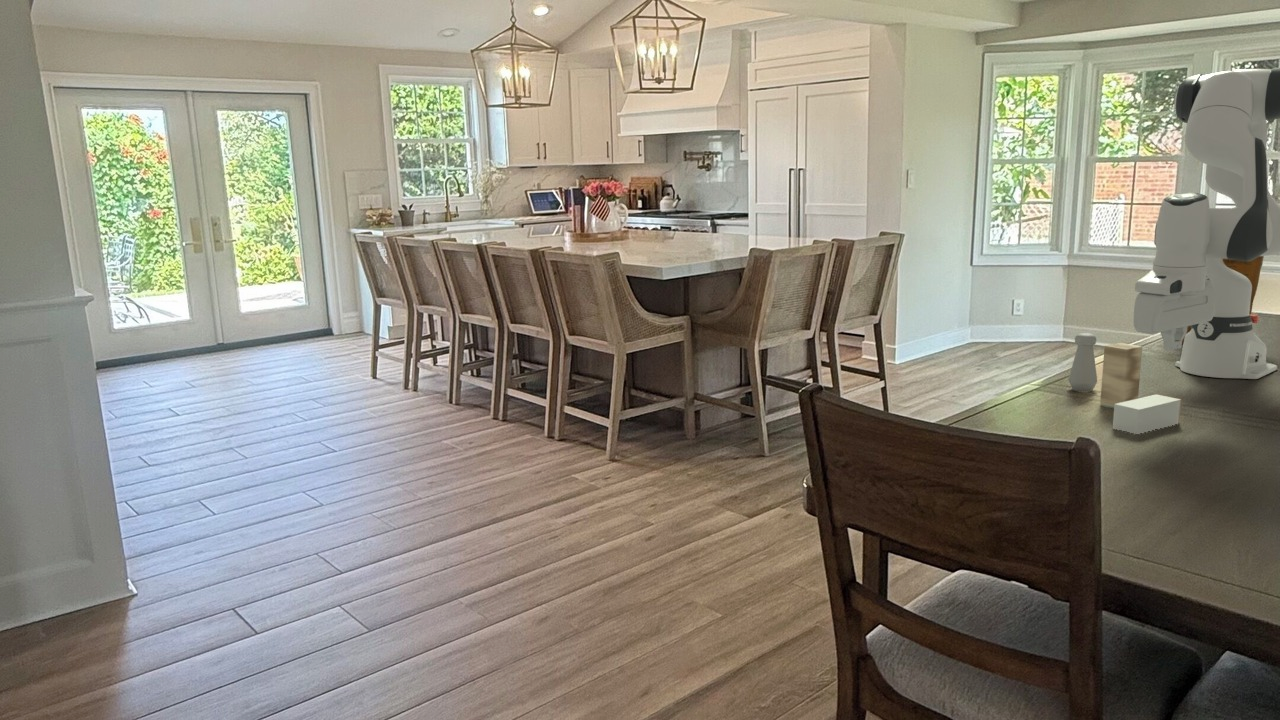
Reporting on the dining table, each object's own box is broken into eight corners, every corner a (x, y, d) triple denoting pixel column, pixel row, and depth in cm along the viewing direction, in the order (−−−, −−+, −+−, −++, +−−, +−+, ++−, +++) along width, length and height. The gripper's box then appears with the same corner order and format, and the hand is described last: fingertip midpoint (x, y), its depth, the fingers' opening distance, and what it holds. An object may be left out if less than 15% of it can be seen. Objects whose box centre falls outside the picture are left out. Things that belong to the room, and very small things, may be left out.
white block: (1156, 394, 177) (1114, 404, 172) (1181, 399, 173) (1138, 409, 167) (1154, 418, 178) (1112, 428, 173) (1179, 424, 174) (1136, 435, 168)
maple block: (1115, 402, 191) (1119, 342, 188) (1137, 406, 187) (1142, 346, 184) (1100, 405, 189) (1104, 345, 186) (1122, 410, 184) (1127, 349, 182)
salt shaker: (1099, 393, 198) (1103, 336, 196) (1071, 393, 200) (1075, 336, 197) (1092, 387, 204) (1096, 331, 201) (1065, 386, 205) (1068, 331, 202)
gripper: (1194, 272, 178) (1188, 339, 181) (1129, 283, 169) (1124, 354, 172) (1227, 275, 172) (1220, 344, 175) (1161, 287, 163) (1155, 360, 166)
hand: (1172, 349), depth 174 cm, fingers closed
